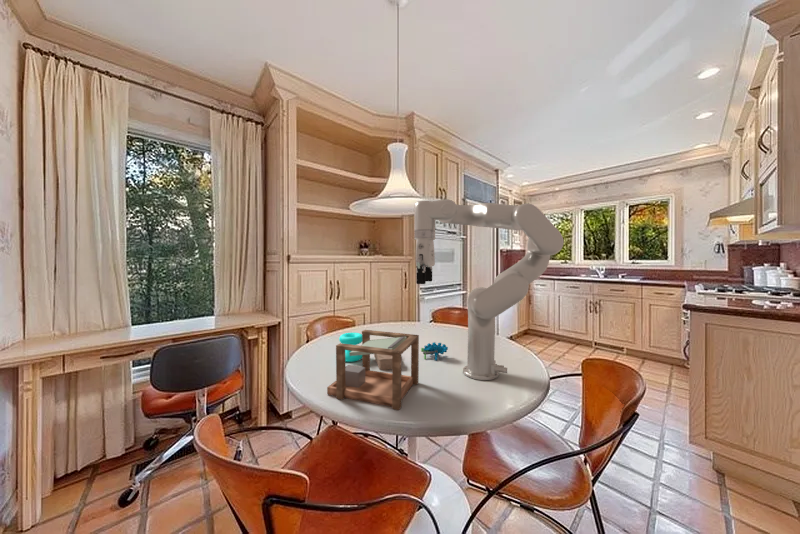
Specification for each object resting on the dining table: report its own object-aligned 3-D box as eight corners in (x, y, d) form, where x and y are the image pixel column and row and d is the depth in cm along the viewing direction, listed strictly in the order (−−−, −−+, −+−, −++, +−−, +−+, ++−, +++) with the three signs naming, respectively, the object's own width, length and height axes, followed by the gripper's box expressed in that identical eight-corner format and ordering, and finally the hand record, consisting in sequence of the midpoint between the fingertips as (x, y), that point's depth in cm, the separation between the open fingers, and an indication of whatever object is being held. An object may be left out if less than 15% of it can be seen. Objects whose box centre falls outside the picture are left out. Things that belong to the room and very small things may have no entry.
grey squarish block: (365, 367, 106) (348, 364, 108) (358, 372, 101) (340, 370, 104) (365, 381, 106) (348, 378, 109) (358, 387, 102) (341, 384, 104)
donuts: (336, 333, 133) (359, 330, 137) (336, 356, 133) (359, 353, 138) (342, 339, 124) (366, 336, 128) (342, 364, 124) (366, 360, 129)
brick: (400, 369, 120) (400, 357, 120) (379, 371, 118) (379, 358, 118) (393, 355, 136) (393, 344, 136) (373, 356, 135) (373, 345, 134)
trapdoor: (406, 339, 105) (406, 335, 105) (391, 352, 92) (390, 348, 92) (369, 343, 110) (368, 339, 110) (349, 355, 97) (349, 351, 97)
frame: (418, 382, 108) (418, 335, 107) (398, 410, 89) (399, 353, 88) (354, 373, 116) (354, 328, 115) (324, 396, 97) (324, 344, 96)
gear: (448, 351, 135) (445, 339, 128) (449, 364, 131) (446, 353, 124) (423, 353, 137) (419, 342, 130) (423, 366, 134) (419, 355, 126)
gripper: (428, 234, 105) (428, 285, 106) (440, 236, 121) (439, 280, 122) (407, 234, 108) (407, 284, 109) (421, 236, 124) (421, 280, 125)
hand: (424, 282), depth 115 cm, fingers open, 9 cm apart
